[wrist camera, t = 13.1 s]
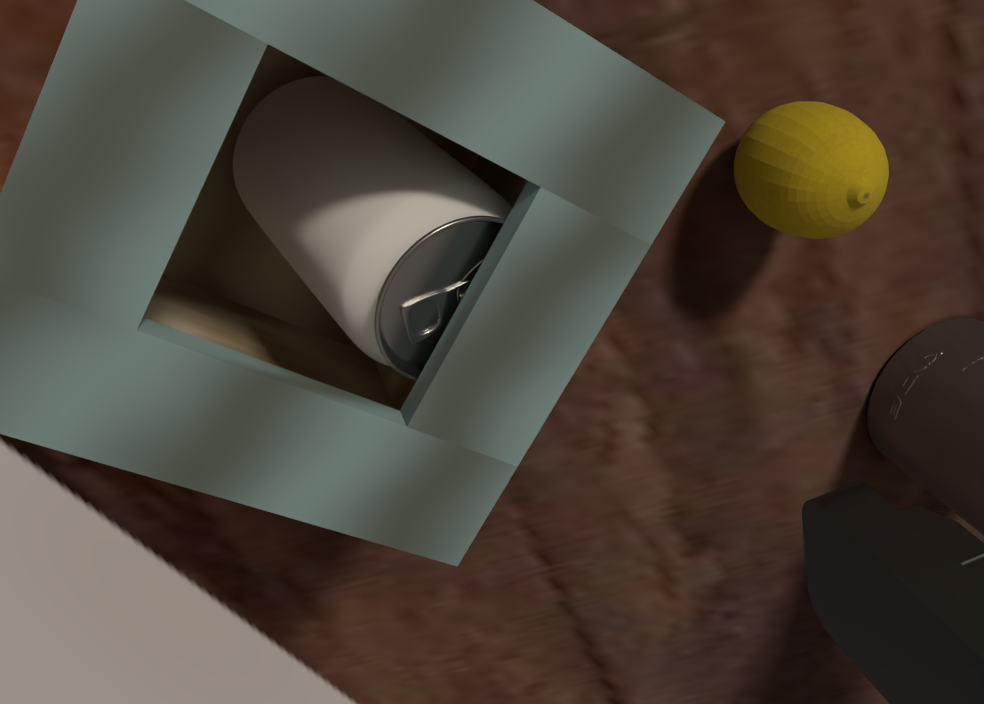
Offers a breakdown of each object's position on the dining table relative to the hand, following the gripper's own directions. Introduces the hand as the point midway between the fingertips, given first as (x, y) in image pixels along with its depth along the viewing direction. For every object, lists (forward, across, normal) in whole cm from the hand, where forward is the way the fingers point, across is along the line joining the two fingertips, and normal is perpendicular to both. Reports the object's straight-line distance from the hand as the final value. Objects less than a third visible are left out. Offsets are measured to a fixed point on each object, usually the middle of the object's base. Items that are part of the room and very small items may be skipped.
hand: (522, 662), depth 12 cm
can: (+28, 0, 0) cm, 28 cm away
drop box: (+29, 0, 0) cm, 29 cm away
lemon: (+30, -20, +6) cm, 36 cm away
